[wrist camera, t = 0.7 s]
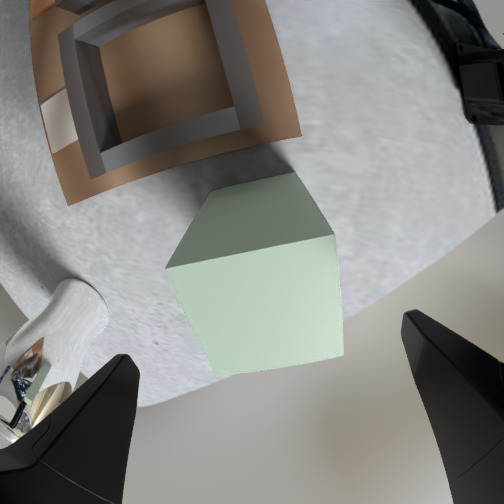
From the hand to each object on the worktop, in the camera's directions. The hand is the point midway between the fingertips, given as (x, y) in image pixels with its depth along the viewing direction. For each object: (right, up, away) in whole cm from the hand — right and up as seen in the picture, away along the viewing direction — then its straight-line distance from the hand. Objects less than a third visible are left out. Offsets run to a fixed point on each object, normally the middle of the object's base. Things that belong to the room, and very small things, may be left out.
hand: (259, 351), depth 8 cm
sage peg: (0, +5, +11) cm, 12 cm away
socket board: (-8, +19, +4) cm, 21 cm away
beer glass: (-16, -2, +15) cm, 22 cm away
